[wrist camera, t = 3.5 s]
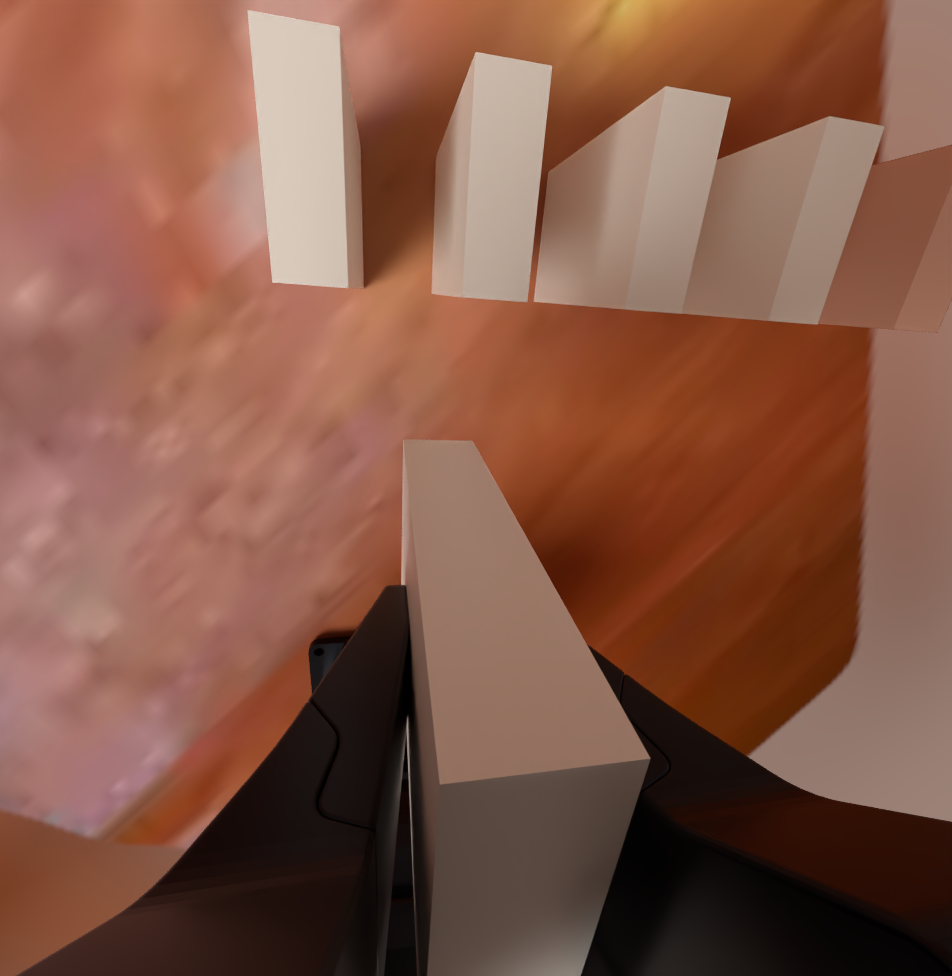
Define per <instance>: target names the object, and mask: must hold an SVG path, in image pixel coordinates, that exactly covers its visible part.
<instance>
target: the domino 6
mask: <svg viewBox="0 0 952 976" xmlns="http://www.w3.org/2000/svg"><path fill="white" fill-rule="evenodd" d="M951 300H952V145H949V146H946V147H942V148H938V149H934V150H930V151H926V152H922V153H918V154H914V155H910V156H906V157H902V158H898V159H895V160H891V161H887V162H883V163H879V164H875V165H872V166H871V169H870V172H869V175H868V178H867V181H866V184H865V186H864V189H863V192H862V195H861V198H860V201H859V204H858V207H857V210H856V213H855V216H854V219H853V222H852V225H851V228H850V230H849V233H848V236H847V239H846V242H845V245H844V248H843V251H842V254H841V257H840V260H839V263H838V266H837V269H836V272H835V274H834V277H833V280H832V283H831V286H830V289H829V292H828V295H827V298H826V301H825V304H824V307H823V310H822V313H821V316H820V319H819V321H818V324H829V325H841V326H854V327H867V328H880V329H893V330H908V331H919V332H932V333H933V332H934V333H938V330H939V328H940V326H941V323H942V321H943V319H944V316H945V314H946V312H947V310H948V307H949V305H950V303H951Z"/></svg>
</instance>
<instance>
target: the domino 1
mask: <svg viewBox="0 0 952 976" xmlns="http://www.w3.org/2000/svg"><path fill="white" fill-rule="evenodd" d="M247 11H248V21H249V32H250V43H251V54H252V65H253V76H254V87H255V98H256V109H257V119H258V130H259V141H260V152H261V163H262V174H263V185H264V196H265V207H266V218H267V228H268V239H269V250H270V261H271V272H272V282H274V283H287V284H300V285H313V286H326V287H339V288H360V289H364V274H363V227H362V180H361V145H360V140H359V134H358V128H357V123H356V117H355V111H354V106H353V100H352V95H351V89H350V83H349V78H348V72H347V66H346V61H345V55H344V50H343V44H342V38H341V33H340V27H338V26H333V25H327V24H322V23H316V22H311V21H305V20H300V19H294V18H289V17H283V16H278V15H272V14H267V13H261V12H256V11H250V10H247Z"/></svg>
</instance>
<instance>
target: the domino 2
mask: <svg viewBox="0 0 952 976" xmlns="http://www.w3.org/2000/svg"><path fill="white" fill-rule="evenodd" d="M551 74H552V66H551V65H546V64H540V63H535V62H529V61H523V60H518V59H512V58H507V57H501V56H496V55H490V54H485V53H479V52H475V55H474V58H473V60H472V63H471V65H470V68H469V71H468V73H467V76H466V79H465V81H464V84H463V87H462V89H461V92H460V95H459V97H458V100H457V103H456V105H455V108H454V110H453V113H452V116H451V118H450V121H449V124H448V126H447V129H446V132H445V134H444V137H443V140H442V142H441V145H440V148H439V150H438V153H437V156H436V172H435V204H434V236H433V268H432V294H438V295H446V296H455V297H465V298H478V299H491V300H505V301H518V302H527V299H528V290H529V280H530V271H531V262H532V252H533V243H534V233H535V224H536V215H537V205H538V196H539V186H540V177H541V168H542V158H543V149H544V139H545V130H546V121H547V111H548V102H549V93H550V83H551Z"/></svg>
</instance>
